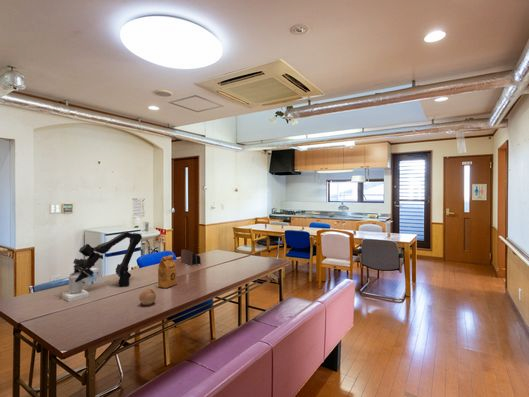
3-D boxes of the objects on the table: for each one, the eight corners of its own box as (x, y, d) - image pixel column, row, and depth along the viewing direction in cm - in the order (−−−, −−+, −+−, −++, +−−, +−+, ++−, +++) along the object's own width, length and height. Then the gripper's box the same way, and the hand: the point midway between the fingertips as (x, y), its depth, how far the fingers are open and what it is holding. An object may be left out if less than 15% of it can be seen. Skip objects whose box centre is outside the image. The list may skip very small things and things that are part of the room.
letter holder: (191, 266, 278) (191, 251, 277) (180, 263, 292) (180, 248, 292) (200, 264, 285) (200, 249, 284) (189, 261, 299) (189, 247, 299)
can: (78, 289, 199) (78, 271, 199) (84, 291, 195) (84, 272, 195) (66, 292, 192) (66, 274, 192) (72, 294, 189) (72, 275, 189)
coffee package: (179, 284, 220) (178, 254, 220) (166, 289, 209) (166, 258, 209) (168, 283, 224) (168, 253, 224) (156, 287, 213) (155, 256, 213)
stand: (82, 292, 202) (82, 288, 202) (89, 296, 195) (89, 292, 195) (61, 297, 193) (61, 292, 193) (68, 301, 185) (68, 296, 185)
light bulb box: (88, 286, 218) (88, 271, 218) (80, 285, 219) (80, 270, 219) (99, 281, 228) (99, 267, 228) (91, 281, 230) (91, 267, 230)
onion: (154, 307, 183) (161, 292, 184) (145, 309, 174) (153, 292, 176) (142, 300, 186) (150, 285, 187) (132, 301, 177) (141, 285, 178)
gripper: (76, 252, 202) (57, 271, 194) (87, 255, 191) (68, 276, 182) (89, 261, 209) (71, 280, 200) (100, 265, 197) (82, 286, 189)
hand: (73, 280), depth 193 cm, fingers open, 8 cm apart
